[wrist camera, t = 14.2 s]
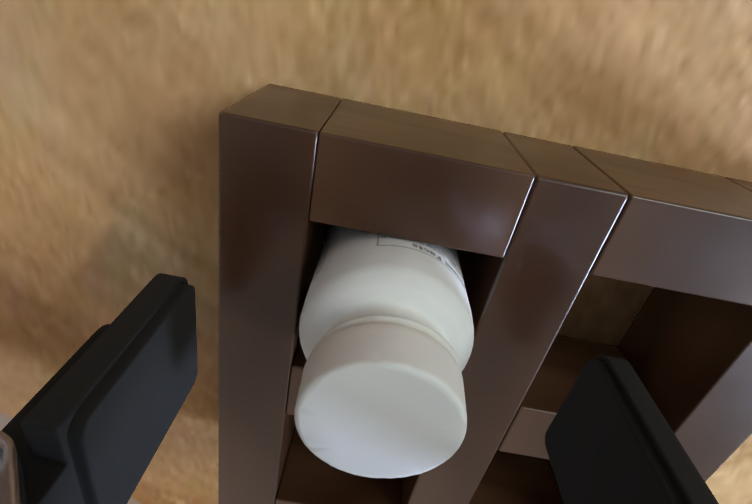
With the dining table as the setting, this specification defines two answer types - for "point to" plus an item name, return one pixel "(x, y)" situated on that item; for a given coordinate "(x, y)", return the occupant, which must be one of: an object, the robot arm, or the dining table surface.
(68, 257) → the dining table surface
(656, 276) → the grid rack
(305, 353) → the pill bottle
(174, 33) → the dining table surface
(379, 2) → the dining table surface
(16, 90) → the dining table surface
